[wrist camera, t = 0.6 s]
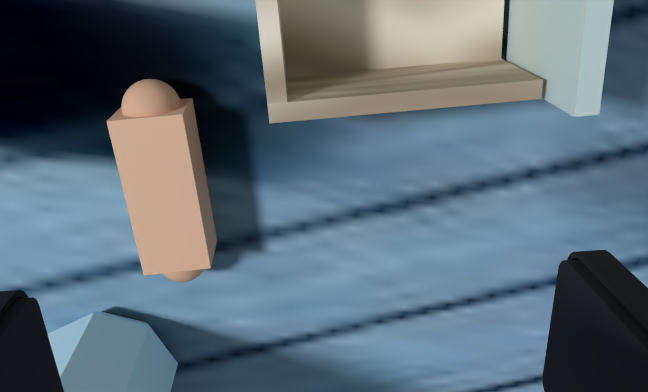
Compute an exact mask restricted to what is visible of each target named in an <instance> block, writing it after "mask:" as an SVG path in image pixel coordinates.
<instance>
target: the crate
mask: <svg viewBox="0 0 648 392" xmlns="http://www.w3.org/2000/svg"><path fill="white" fill-rule="evenodd" d="M255 1H256V10H257V18H258V27H259V35H260V44H261V53H262V61H263V70H264V79H265V87H266V96H267V104H268V113H269V122H270V123H278V122H290V121H301V120H312V119H323V118H334V117H345V116H357V115H368V114H379V113H390V112H401V111H412V110H424V109H435V108H446V107H457V106H468V105H479V104H491V103H502V102H513V101H524V100H535V99H541V97H542V86H543V79H541V78H539V77H537V76H535V75H533V74H531V73H529V72H527V71H525V70H523V69H521V68H519V67H517V66H515V65H513V64H511V63H509V62H507V61H505V60H503V59H501V55H502V36H503V17H504V0H255Z"/></svg>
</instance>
